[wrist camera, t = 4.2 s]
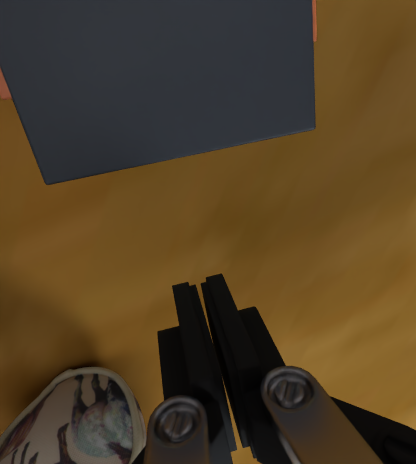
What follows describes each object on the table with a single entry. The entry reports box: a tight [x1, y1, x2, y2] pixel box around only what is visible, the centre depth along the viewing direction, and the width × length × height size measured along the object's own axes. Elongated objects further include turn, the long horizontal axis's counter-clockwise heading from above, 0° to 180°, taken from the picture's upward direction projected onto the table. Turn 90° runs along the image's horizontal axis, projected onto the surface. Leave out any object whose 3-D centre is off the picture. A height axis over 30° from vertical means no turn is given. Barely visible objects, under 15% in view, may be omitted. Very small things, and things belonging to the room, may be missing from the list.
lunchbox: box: [0, 0, 317, 185], centre depth 12 cm, size 9×7×7 cm
